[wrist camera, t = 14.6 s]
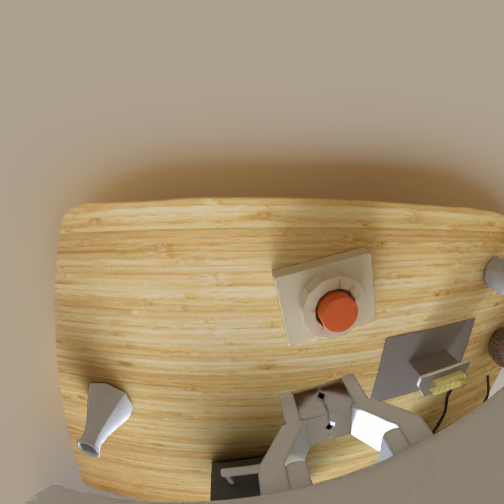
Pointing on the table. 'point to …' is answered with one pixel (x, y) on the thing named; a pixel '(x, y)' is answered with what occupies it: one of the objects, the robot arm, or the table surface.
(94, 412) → the flask
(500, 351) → the vase
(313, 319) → the block
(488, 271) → the beverage can
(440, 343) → the platform
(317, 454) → the table surface
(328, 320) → the button
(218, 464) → the cabinet drawer
